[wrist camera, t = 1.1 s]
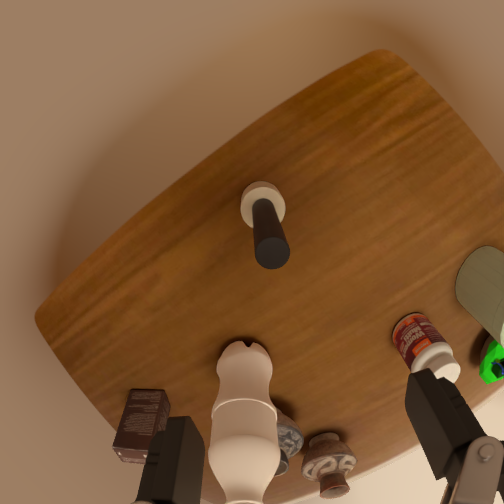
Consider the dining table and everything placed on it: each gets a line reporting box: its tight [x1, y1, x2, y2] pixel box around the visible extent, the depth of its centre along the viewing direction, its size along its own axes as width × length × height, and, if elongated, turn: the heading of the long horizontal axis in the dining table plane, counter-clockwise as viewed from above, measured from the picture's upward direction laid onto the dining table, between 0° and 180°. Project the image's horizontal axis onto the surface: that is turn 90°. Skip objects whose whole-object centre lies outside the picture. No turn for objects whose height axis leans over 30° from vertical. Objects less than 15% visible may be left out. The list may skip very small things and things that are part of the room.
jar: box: [455, 246, 504, 348], centre depth 34 cm, size 10×10×12 cm
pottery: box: [273, 407, 357, 499], centre depth 43 cm, size 11×25×12 cm, turn 52°
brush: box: [241, 181, 290, 269], centre depth 28 cm, size 4×4×16 cm
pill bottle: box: [393, 313, 460, 383], centre depth 37 cm, size 6×6×11 cm
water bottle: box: [208, 341, 281, 504], centre depth 31 cm, size 7×7×25 cm
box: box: [112, 390, 170, 464], centre depth 40 cm, size 6×4×12 cm
